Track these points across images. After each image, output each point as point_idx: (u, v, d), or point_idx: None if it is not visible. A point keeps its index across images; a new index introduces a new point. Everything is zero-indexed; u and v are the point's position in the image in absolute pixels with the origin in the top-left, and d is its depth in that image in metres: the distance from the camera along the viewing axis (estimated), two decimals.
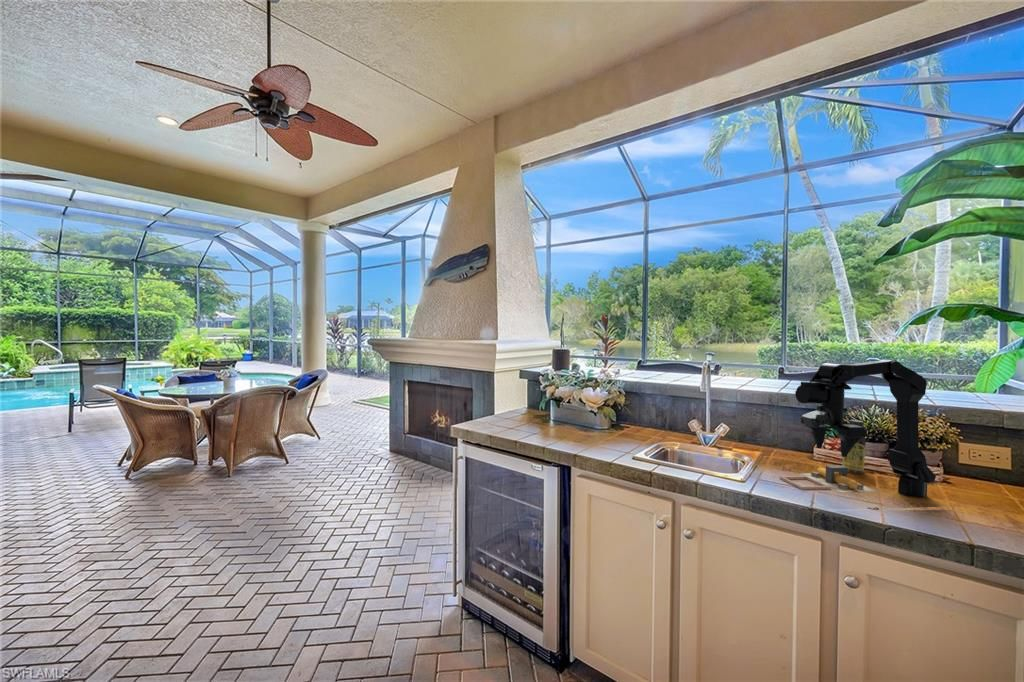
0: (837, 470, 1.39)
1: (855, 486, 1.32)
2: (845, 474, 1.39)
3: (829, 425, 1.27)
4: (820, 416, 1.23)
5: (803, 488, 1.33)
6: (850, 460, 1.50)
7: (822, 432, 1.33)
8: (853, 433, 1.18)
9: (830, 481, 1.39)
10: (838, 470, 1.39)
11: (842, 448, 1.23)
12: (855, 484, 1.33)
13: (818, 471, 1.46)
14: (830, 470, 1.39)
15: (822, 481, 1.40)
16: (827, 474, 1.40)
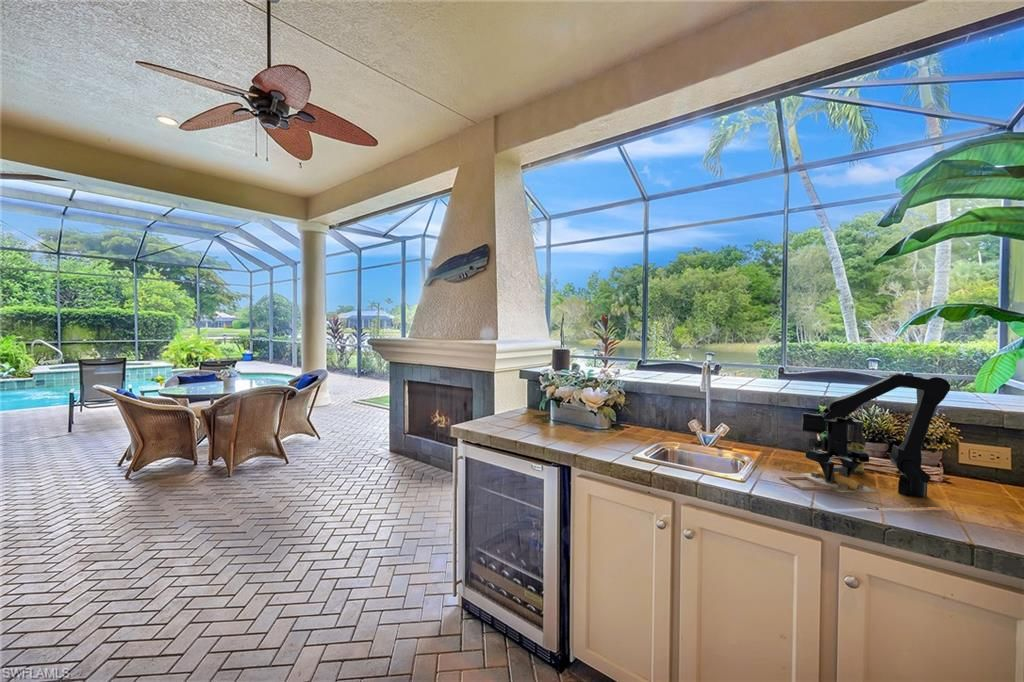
0: (837, 470, 1.39)
1: (855, 486, 1.32)
2: (845, 474, 1.39)
3: None
4: None
5: (803, 488, 1.33)
6: None
7: (849, 467, 1.39)
8: (807, 455, 1.41)
9: (830, 481, 1.39)
10: (838, 470, 1.39)
11: None
12: (855, 484, 1.33)
13: (818, 471, 1.46)
14: None
15: (822, 481, 1.40)
16: None
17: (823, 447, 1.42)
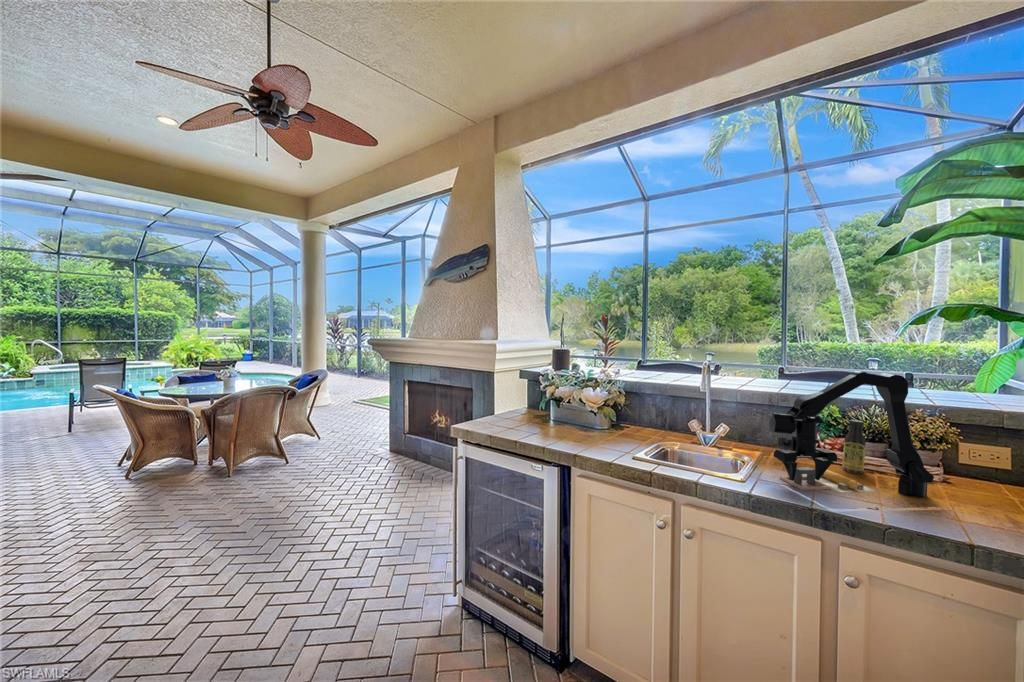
0: (805, 472, 1.37)
1: (855, 486, 1.32)
2: (812, 476, 1.37)
3: None
4: None
5: (803, 488, 1.33)
6: (850, 460, 1.50)
7: (821, 467, 1.37)
8: (775, 454, 1.39)
9: (798, 483, 1.37)
10: (806, 472, 1.37)
11: None
12: (855, 484, 1.33)
13: None
14: (798, 472, 1.37)
15: (822, 481, 1.40)
16: (795, 476, 1.38)
17: (791, 446, 1.40)
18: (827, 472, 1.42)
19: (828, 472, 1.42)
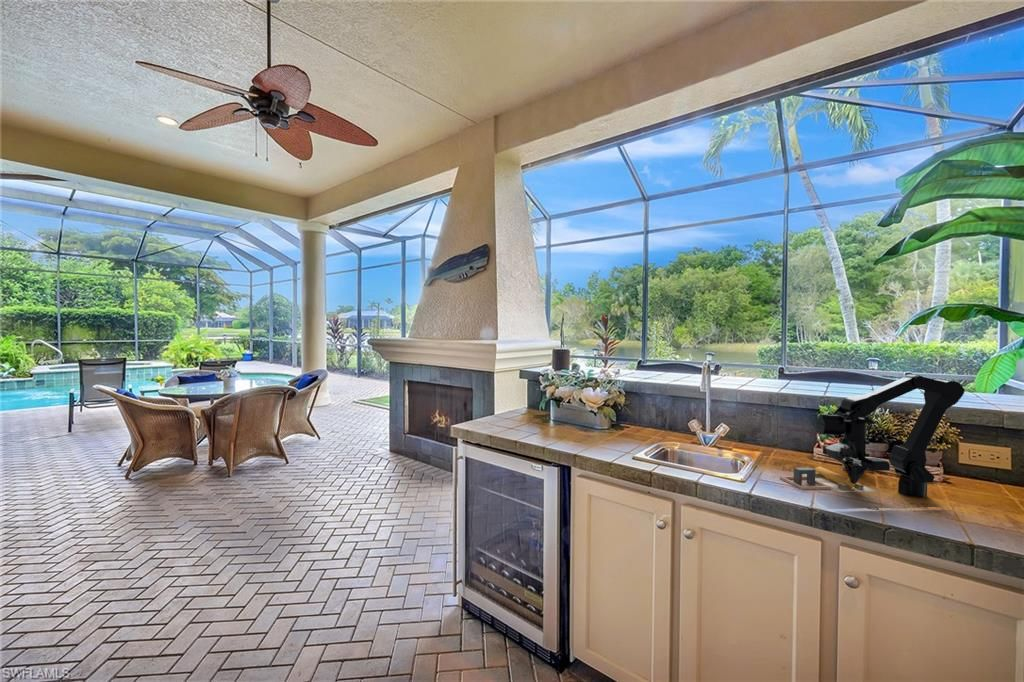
0: (805, 472, 1.37)
1: (852, 485, 1.34)
2: (812, 476, 1.37)
3: None
4: (844, 449, 1.29)
5: (803, 488, 1.33)
6: None
7: None
8: (877, 467, 1.24)
9: (798, 483, 1.37)
10: (806, 472, 1.37)
11: (853, 475, 1.33)
12: (852, 483, 1.34)
13: (816, 470, 1.47)
14: (798, 472, 1.37)
15: (822, 481, 1.40)
16: (795, 476, 1.38)
17: (855, 453, 1.30)
18: (825, 471, 1.43)
19: (825, 471, 1.43)
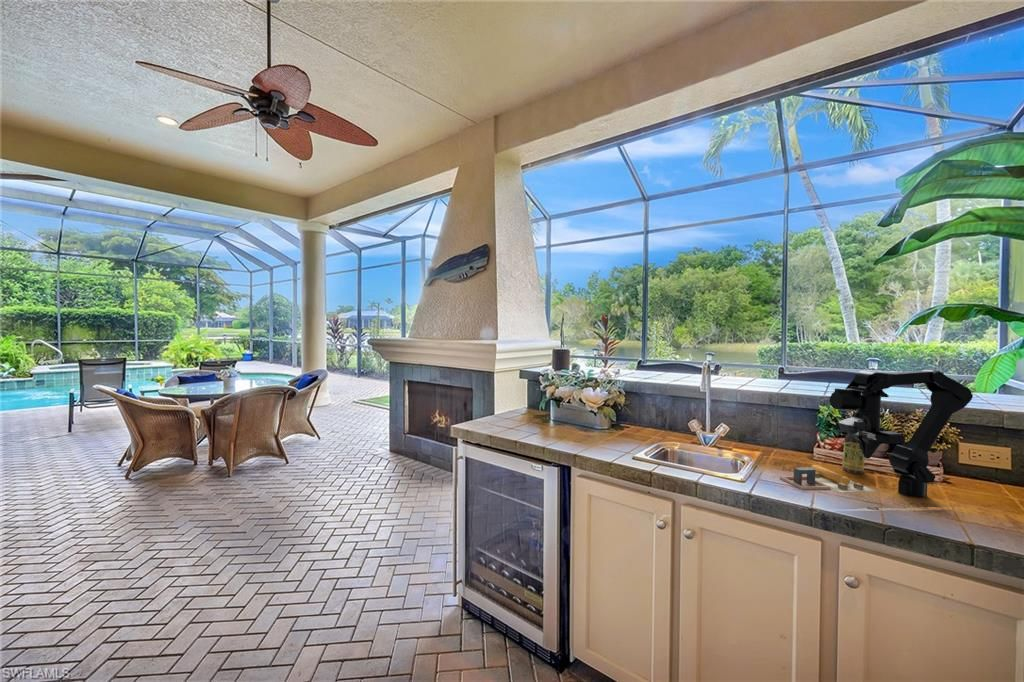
0: (805, 472, 1.37)
1: (847, 482, 1.36)
2: (812, 476, 1.37)
3: None
4: (858, 423, 1.26)
5: (803, 488, 1.33)
6: (850, 460, 1.50)
7: None
8: (892, 440, 1.21)
9: (798, 483, 1.37)
10: (806, 472, 1.37)
11: (867, 450, 1.30)
12: (847, 480, 1.36)
13: (812, 467, 1.49)
14: (798, 472, 1.37)
15: (822, 481, 1.40)
16: (795, 476, 1.38)
17: (869, 427, 1.28)
18: (821, 468, 1.45)
19: (822, 468, 1.45)
